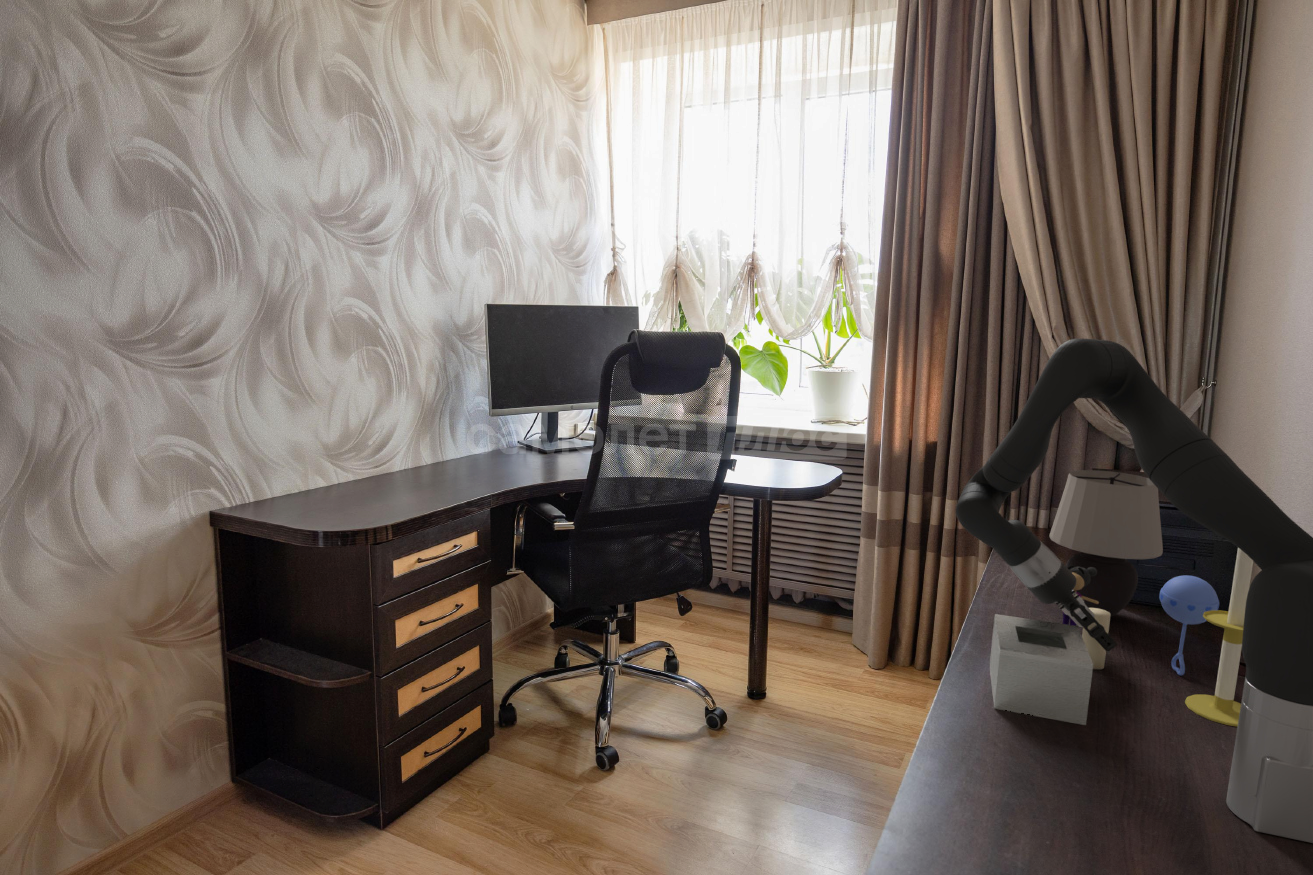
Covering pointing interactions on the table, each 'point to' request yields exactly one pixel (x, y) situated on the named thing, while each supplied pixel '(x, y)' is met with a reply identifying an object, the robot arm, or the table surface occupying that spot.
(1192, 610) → the baby rattle
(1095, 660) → the capsule
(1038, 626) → the white hollow block
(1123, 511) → the table lamp
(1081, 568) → the toy
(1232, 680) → the candle
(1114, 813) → the table surface
